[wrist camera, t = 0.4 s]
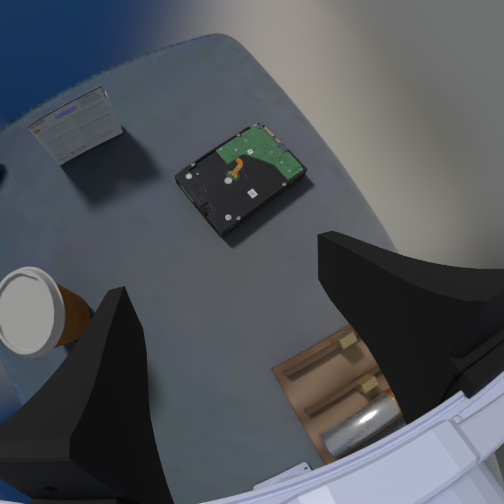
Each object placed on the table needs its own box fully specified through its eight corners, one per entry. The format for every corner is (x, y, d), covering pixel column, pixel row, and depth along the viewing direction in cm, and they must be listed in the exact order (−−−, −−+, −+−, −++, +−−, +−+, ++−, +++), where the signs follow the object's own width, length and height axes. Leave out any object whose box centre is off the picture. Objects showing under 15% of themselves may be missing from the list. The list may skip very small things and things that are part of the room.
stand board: (435, 384, 39) (443, 386, 37) (324, 462, 36) (329, 468, 34) (395, 293, 42) (403, 291, 40) (271, 368, 38) (274, 371, 36)
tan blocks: (416, 344, 39) (444, 345, 33) (354, 389, 37) (376, 398, 31) (394, 296, 41) (420, 291, 34) (329, 338, 39) (348, 340, 32)
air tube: (411, 364, 39) (428, 366, 35) (421, 387, 38) (438, 391, 34) (314, 428, 36) (323, 439, 32) (327, 451, 35) (337, 463, 31)
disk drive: (222, 240, 42) (304, 177, 45) (222, 235, 39) (309, 168, 42) (175, 184, 43) (257, 128, 46) (172, 175, 40) (258, 117, 43)
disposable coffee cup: (115, 316, 38) (75, 312, 26) (73, 367, 36) (25, 378, 24) (69, 266, 38) (23, 245, 27) (31, 316, 36) (-22, 310, 25)
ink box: (120, 123, 44) (100, 74, 33) (124, 133, 43) (103, 85, 32) (56, 155, 42) (23, 115, 30) (58, 167, 41) (24, 127, 30)
